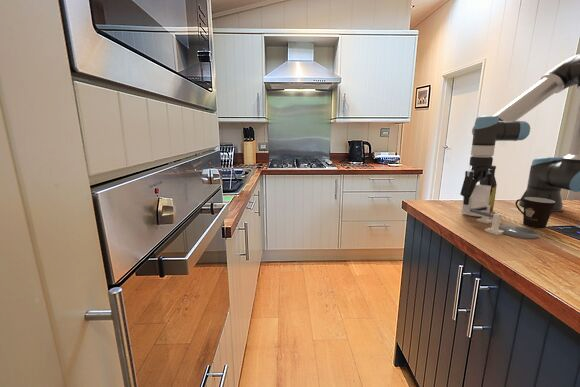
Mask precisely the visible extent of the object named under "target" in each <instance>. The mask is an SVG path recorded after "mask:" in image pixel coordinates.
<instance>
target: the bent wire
mask: <svg viewBox="0 0 580 387" xmlns="http://www.w3.org/2000/svg"><path fill="white" fill-rule="evenodd" d="M482 210H487V207H479V208H472V209H470V212H473V213H476V214H480V215H484V216H487V217H489V218H492V219H493V216H494V214H495V213H486V212H482Z"/></svg>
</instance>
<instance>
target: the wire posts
mask: <svg viewBox="0 0 580 387" xmlns="http://www.w3.org/2000/svg"><path fill="white" fill-rule="evenodd" d="M484 207H487V210H483V212H486V213H490V212H491V211H490V207H491V206H490V205H484ZM490 214H491V213H490ZM493 214H494V216H493V218H492V219H490V217H487V216H484V215H482V216H481V217H479V218H476V222H479V223H483V224H491V227H488V228H485V229H484V232H486V233H489V234H492V235H496V236H498V235H499V236H500V235H503V234H502V233H503V232H504V231H502V230H499V225H501V224H500V223H501V217H502V214H499V213H493Z"/></svg>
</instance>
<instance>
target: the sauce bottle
mask: <svg viewBox="0 0 580 387" xmlns="http://www.w3.org/2000/svg"><path fill="white" fill-rule="evenodd" d="M488 169H493V175H492V192H490V193H491V195H490V197H489V204H488V205H490V206H491V207H490V212H492V211H493V210H494V207H495V200H496V194H497V185H498V184H497V180H496V177H495V175H496V174H495V173H496V169H497V166H496V165H493V164H492V166H491V167H488ZM488 175H489V174H488Z"/></svg>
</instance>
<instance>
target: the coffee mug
mask: <svg viewBox="0 0 580 387" xmlns="http://www.w3.org/2000/svg"><path fill="white" fill-rule="evenodd" d="M520 200H521V201H523V202H524V206H523V210H522V209H521V208H520V207H519V202H520ZM554 204H555V201H553V200H549V199H544V198H536V197H525V198H524V200H523V199H521V198H519V199H517V200H515V208H517V210H518V211H519V212H520V213H521V214H522V218H523V219H522V224H523V226H524V227H526V228H527V227H528V228H532V229H537V230H539V229H540V230H543V229H546V227H547V225H548V222H549V219H550V217H551V214H552V212H553V211H552V209H553V207H554Z"/></svg>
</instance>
